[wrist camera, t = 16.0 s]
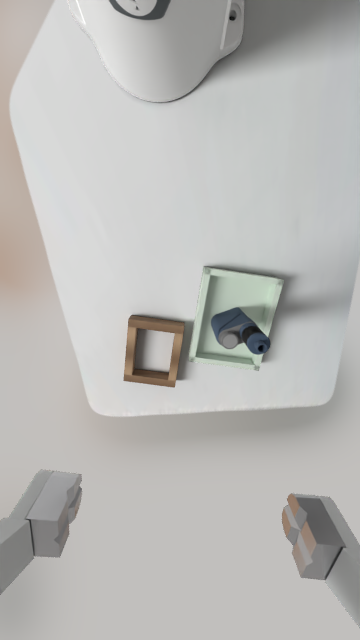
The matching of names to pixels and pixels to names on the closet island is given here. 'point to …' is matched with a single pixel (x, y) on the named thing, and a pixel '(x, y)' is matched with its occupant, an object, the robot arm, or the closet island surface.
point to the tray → (224, 294)
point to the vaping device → (239, 331)
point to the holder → (129, 371)
